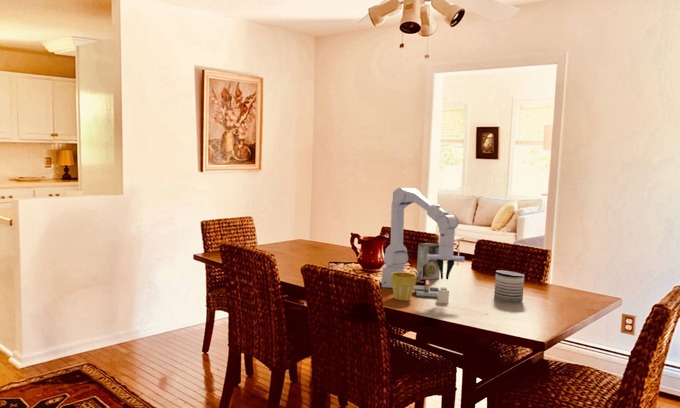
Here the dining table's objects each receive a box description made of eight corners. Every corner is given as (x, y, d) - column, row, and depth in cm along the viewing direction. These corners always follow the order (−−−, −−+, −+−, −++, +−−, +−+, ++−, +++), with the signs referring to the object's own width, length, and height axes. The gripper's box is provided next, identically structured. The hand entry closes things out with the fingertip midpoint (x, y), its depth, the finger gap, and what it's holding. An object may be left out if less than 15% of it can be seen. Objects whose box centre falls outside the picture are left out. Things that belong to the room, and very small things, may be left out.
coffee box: (433, 275, 270) (435, 242, 268) (439, 278, 264) (441, 245, 262) (415, 276, 267) (417, 243, 265) (422, 279, 261) (424, 245, 259)
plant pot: (417, 296, 230) (418, 273, 229) (412, 303, 220) (413, 278, 219) (393, 293, 234) (394, 270, 233) (386, 299, 224) (388, 275, 223)
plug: (438, 302, 223) (438, 289, 222) (437, 300, 227) (438, 286, 226) (448, 303, 222) (449, 289, 222) (447, 300, 226) (448, 287, 226)
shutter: (413, 290, 233) (413, 283, 232) (413, 286, 239) (413, 279, 239) (428, 291, 232) (429, 284, 231) (428, 287, 238) (428, 280, 238)
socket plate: (416, 296, 230) (416, 291, 230) (416, 290, 241) (416, 285, 241) (447, 298, 229) (447, 294, 229) (445, 292, 240) (446, 287, 239)
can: (488, 297, 234) (490, 269, 232) (509, 295, 238) (511, 268, 237) (506, 305, 223) (508, 275, 222) (528, 303, 228) (530, 274, 226)
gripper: (428, 245, 219) (426, 279, 221) (466, 248, 217) (463, 282, 219) (427, 242, 226) (425, 275, 227) (464, 244, 224) (462, 278, 226)
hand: (444, 278), depth 224 cm, fingers closed
